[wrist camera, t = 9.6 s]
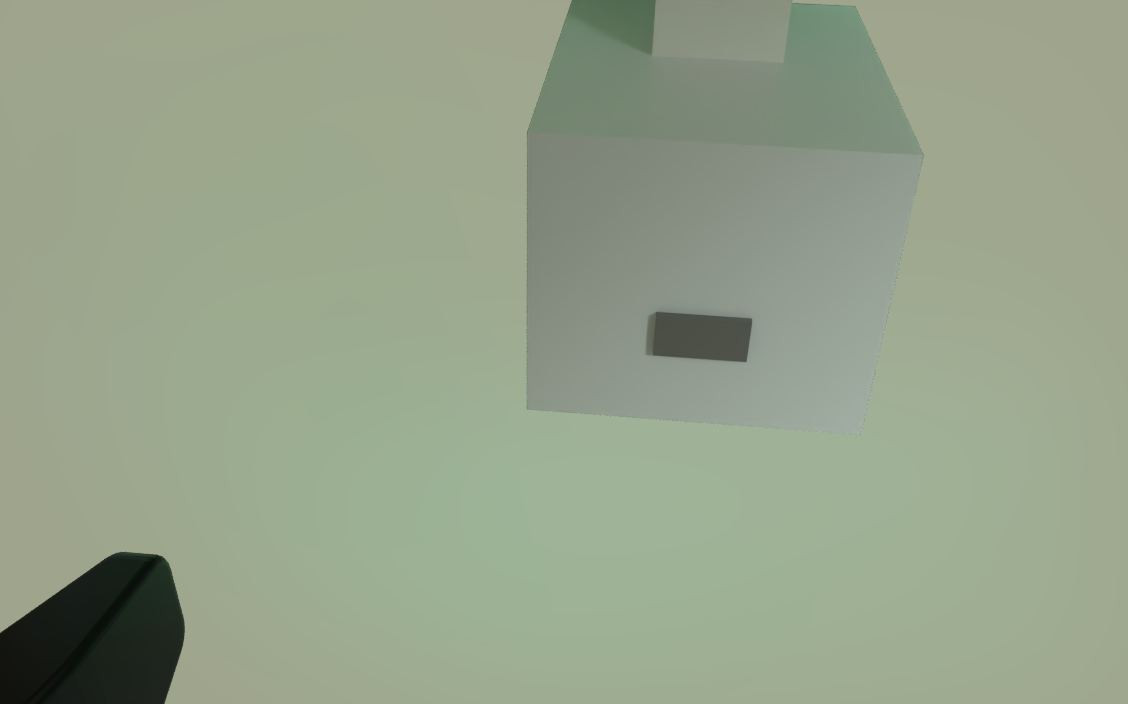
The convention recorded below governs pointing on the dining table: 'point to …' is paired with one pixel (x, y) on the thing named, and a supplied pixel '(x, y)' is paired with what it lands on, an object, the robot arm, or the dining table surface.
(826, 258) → the block
